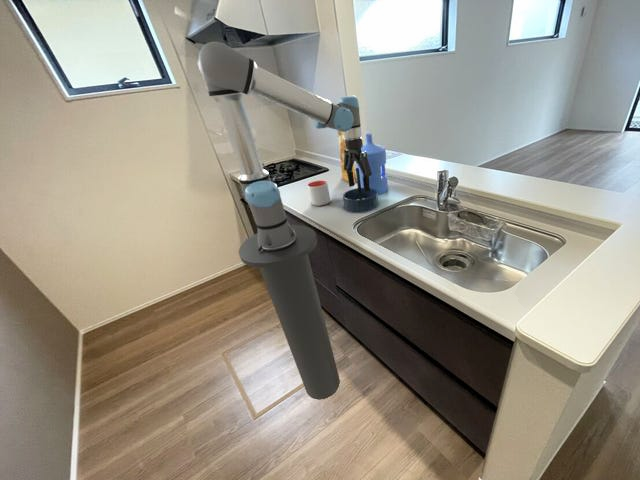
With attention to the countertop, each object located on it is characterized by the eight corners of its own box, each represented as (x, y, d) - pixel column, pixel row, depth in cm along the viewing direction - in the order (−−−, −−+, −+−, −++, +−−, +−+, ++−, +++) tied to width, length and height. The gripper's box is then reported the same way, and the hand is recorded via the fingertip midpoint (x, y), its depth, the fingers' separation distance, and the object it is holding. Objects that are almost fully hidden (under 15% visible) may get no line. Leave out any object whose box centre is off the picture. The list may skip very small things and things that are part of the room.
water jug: (364, 198, 153) (358, 139, 136) (355, 189, 165) (348, 134, 149) (392, 192, 156) (389, 134, 140) (382, 183, 168) (378, 129, 152)
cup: (318, 198, 159) (314, 179, 153) (334, 200, 155) (331, 180, 149) (307, 205, 152) (303, 186, 146) (323, 207, 148) (319, 187, 142)
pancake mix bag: (348, 175, 188) (341, 126, 172) (362, 181, 174) (357, 129, 158) (338, 177, 186) (331, 128, 170) (352, 184, 172) (346, 131, 156)
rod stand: (360, 207, 141) (355, 170, 131) (352, 204, 145) (347, 168, 135) (370, 203, 144) (366, 167, 134) (362, 200, 148) (358, 165, 138)
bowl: (358, 215, 136) (356, 203, 132) (337, 206, 147) (336, 195, 143) (385, 204, 143) (384, 192, 140) (364, 196, 154) (362, 185, 151)
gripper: (377, 138, 121) (381, 191, 134) (344, 134, 137) (351, 181, 150) (363, 142, 118) (368, 196, 130) (331, 137, 133) (338, 185, 146)
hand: (359, 188), depth 140 cm, fingers open, 11 cm apart
